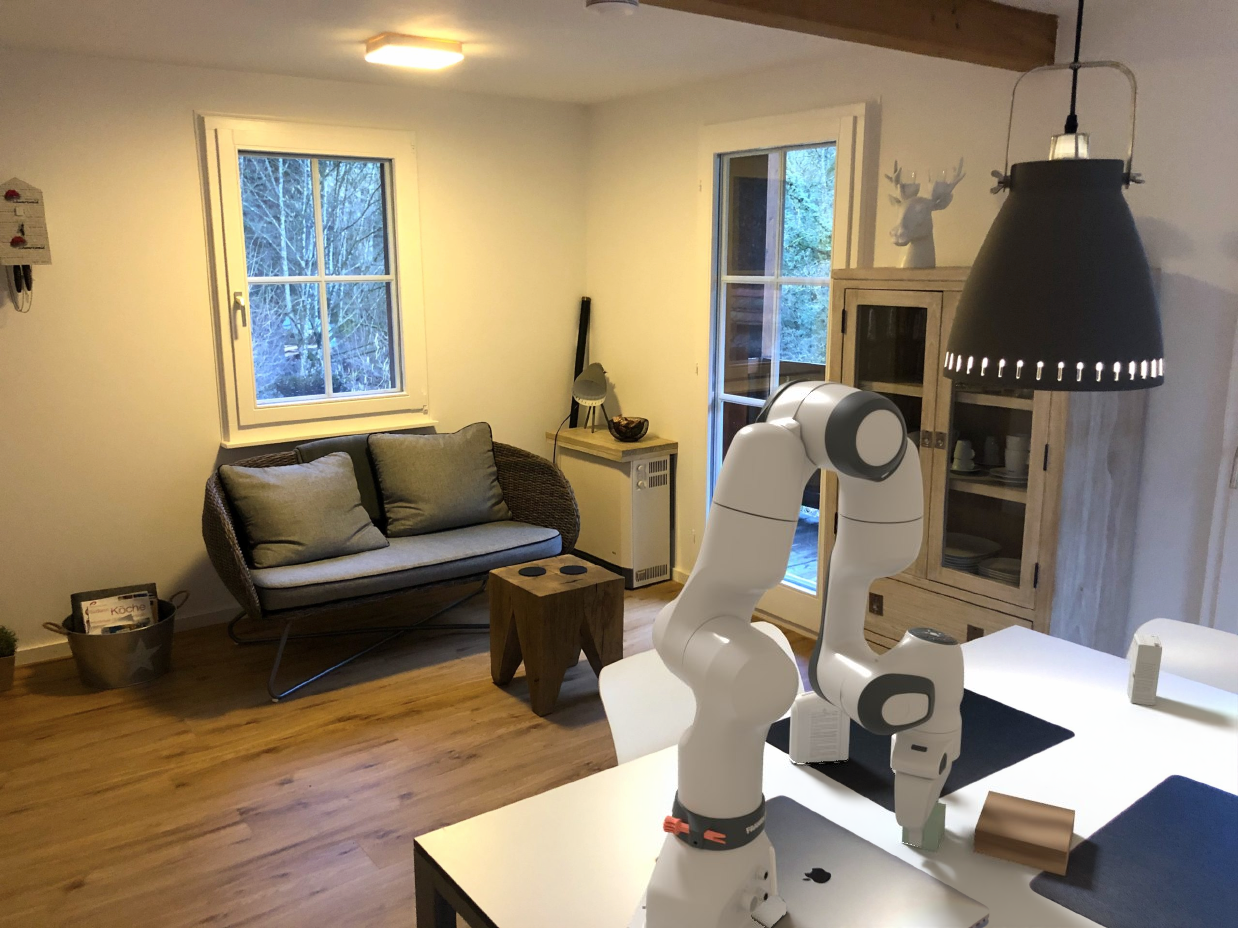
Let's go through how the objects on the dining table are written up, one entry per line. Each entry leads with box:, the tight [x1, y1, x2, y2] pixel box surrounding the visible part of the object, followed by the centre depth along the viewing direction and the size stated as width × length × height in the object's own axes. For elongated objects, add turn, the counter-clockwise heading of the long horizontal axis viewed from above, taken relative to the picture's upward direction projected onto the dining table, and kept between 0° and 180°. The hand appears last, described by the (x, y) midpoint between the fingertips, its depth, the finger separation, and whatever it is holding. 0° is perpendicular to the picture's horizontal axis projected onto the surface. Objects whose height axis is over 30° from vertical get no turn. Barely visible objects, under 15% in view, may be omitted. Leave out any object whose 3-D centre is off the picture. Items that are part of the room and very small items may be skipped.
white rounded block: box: [788, 690, 851, 763], centre depth 167 cm, size 10×4×12 cm, turn 98°
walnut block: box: [973, 790, 1076, 876], centre depth 143 cm, size 12×12×4 cm
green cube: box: [901, 802, 947, 853], centre depth 144 cm, size 5×5×5 cm
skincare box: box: [1126, 633, 1163, 706], centre depth 188 cm, size 6×4×12 cm
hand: (923, 826), depth 144 cm, fingers open, 8 cm apart
